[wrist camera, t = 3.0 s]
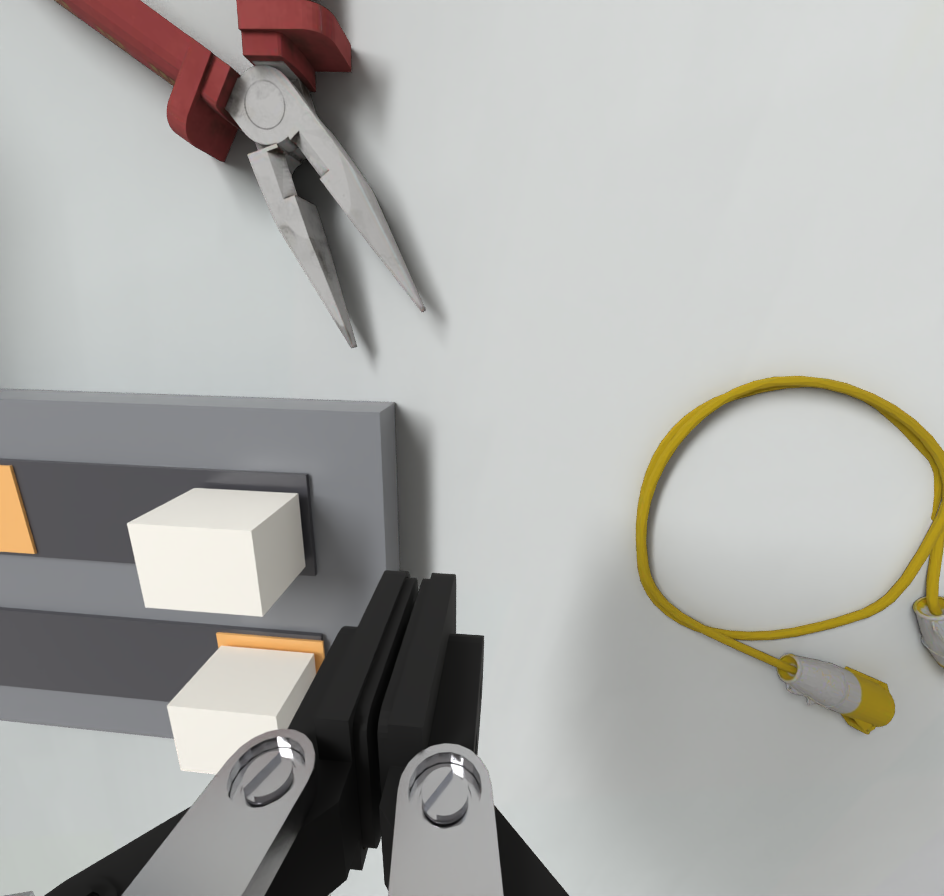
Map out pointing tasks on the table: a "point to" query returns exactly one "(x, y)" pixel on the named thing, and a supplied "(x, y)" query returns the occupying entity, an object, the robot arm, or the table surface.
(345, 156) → the pliers
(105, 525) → the switch panel
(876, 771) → the table surface
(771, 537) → the table surface
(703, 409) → the extension cord
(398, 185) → the table surface
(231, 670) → the tab
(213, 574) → the tab
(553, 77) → the table surface
